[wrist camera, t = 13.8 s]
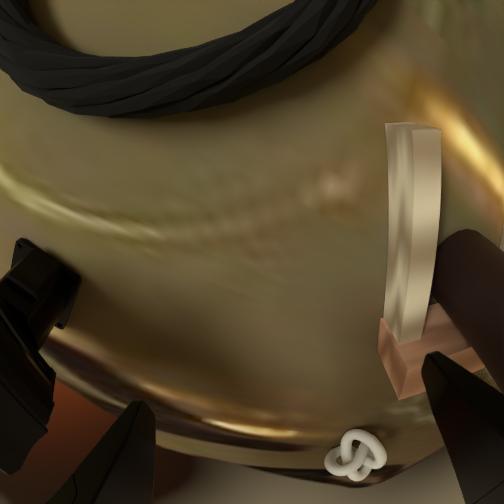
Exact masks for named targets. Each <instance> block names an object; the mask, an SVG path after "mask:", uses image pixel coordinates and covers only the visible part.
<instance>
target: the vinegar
mask: <svg viewBox="0 0 504 504" xmlns="http://www.w3.org/2000/svg"><path fill="white" fill-rule="evenodd" d="M430 292H431V294H432V295H433V296H434V298H435V299H436V300H437V302H438V303H439V304H440V305H441V307H442V308H443V309H444V310H445V312H446V313H447V314H448V316H449V317H450V318H451V319H452V321H453V322H454V323H455V325H456V326H457V327H458V329H459V330H460V331H461V333H462V334H463V336H464V337H465V338H466V340H467V341H468V342H469V344H470V345H471V347H472V348H473V349H474V351H475V352H476V354H477V355H478V357H479V358H480V359H481V361H482V362H483V364H484V365H485V367H486V368H487V370H488V371H489V373H490V374H491V376H492V377H493V379H494V380H495V382H496V384H497V385H498V387H499V388H500V390H501V391H502V393H503V394H504V252H503V251H502V250H501V249H500V248H498V247H497V246H496V245H494V244H493V243H492V242H491V241H489V240H488V239H487V238H485V237H484V236H483V235H481V234H480V233H479V232H477V231H474V230H469V229H465V230H461V231H457V232H456V233H454V234H452V235H451V236H449V237H448V238H447V239H446V240H445V241H444V242H443V243H442V244H441V245H440V246H439V247H438V249H437V250H436V257H435V265H434V272H433V278H432V285H431V291H430Z"/></svg>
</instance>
